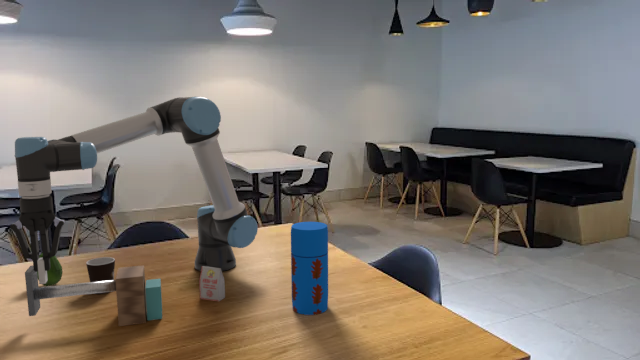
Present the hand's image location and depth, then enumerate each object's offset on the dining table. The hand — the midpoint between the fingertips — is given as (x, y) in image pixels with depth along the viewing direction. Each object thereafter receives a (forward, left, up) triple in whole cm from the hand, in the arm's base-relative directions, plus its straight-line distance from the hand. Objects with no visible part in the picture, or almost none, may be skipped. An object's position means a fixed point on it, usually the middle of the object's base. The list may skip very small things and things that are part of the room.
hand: (43, 282), depth 137 cm
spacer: (-28, 0, -13) cm, 31 cm away
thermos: (-72, +9, -13) cm, 74 cm away
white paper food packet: (-45, -8, -13) cm, 48 cm away
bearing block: (-22, 0, -13) cm, 26 cm away
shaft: (-9, 0, -8) cm, 12 cm away
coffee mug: (-12, -27, -13) cm, 32 cm away
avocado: (+6, -36, -13) cm, 39 cm away
